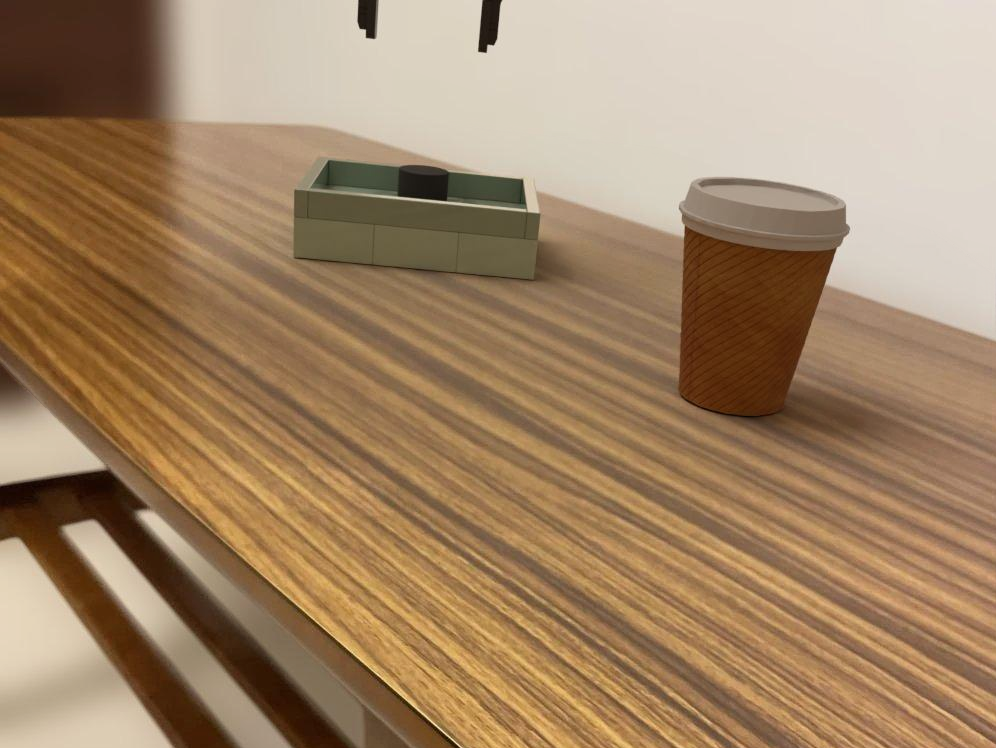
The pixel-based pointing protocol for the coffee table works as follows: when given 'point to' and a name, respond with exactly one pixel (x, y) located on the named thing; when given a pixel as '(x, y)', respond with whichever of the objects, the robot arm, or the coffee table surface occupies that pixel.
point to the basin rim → (418, 200)
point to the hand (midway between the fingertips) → (427, 45)
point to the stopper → (423, 182)
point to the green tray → (415, 244)
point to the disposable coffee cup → (751, 287)
